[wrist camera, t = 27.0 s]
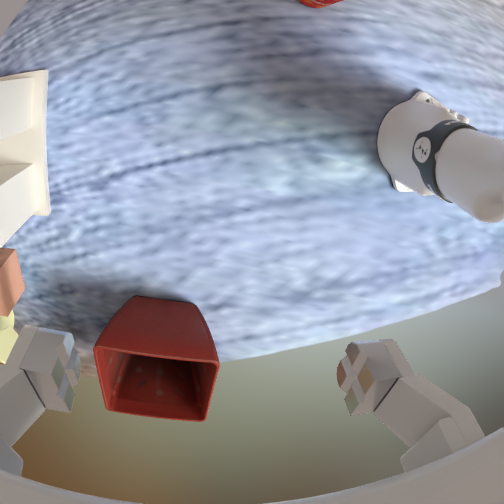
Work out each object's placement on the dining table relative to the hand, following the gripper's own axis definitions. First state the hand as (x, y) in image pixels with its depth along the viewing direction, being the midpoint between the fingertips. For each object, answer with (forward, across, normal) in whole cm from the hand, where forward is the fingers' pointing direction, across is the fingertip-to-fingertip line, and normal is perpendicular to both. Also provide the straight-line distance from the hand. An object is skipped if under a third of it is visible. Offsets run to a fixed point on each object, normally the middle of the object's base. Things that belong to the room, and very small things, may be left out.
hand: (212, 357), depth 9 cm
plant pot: (+41, +6, +38) cm, 56 cm away
